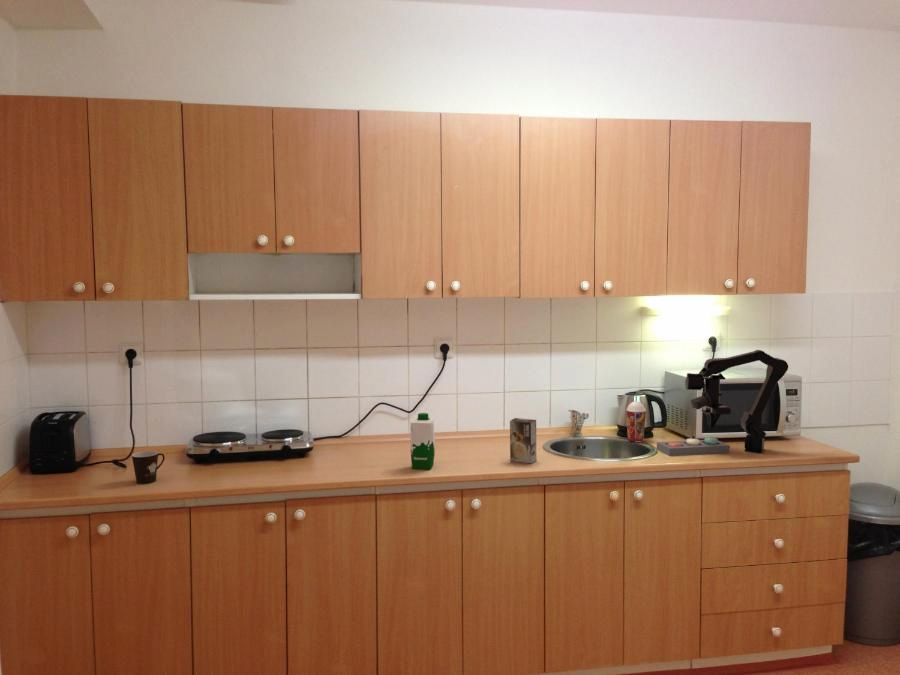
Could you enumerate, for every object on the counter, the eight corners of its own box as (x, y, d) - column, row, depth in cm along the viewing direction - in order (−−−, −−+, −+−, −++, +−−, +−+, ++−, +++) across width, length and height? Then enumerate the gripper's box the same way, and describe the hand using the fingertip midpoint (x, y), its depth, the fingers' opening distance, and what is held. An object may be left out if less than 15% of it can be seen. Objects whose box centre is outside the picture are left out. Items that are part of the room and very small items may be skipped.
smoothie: (646, 443, 301) (647, 397, 300) (626, 442, 303) (627, 396, 301) (644, 438, 310) (645, 393, 308) (624, 438, 311) (625, 393, 309)
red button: (683, 450, 284) (683, 444, 284) (671, 450, 283) (671, 445, 283) (677, 447, 289) (677, 442, 289) (665, 447, 288) (665, 442, 288)
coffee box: (537, 460, 276) (537, 419, 274) (531, 463, 270) (531, 422, 269) (515, 457, 280) (515, 417, 279) (509, 461, 274) (509, 420, 273)
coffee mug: (136, 486, 245) (134, 458, 244) (130, 480, 252) (129, 453, 251) (171, 480, 252) (169, 453, 251) (164, 475, 259) (163, 448, 258)
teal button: (719, 445, 287) (720, 440, 286) (708, 446, 286) (708, 440, 286) (713, 442, 292) (713, 437, 291) (702, 443, 291) (702, 437, 291)
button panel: (729, 452, 284) (729, 445, 284) (669, 455, 280) (669, 448, 280) (715, 446, 295) (715, 439, 295) (656, 449, 291) (656, 442, 291)
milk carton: (436, 464, 270) (435, 413, 269) (432, 470, 261) (431, 417, 260) (413, 463, 272) (412, 412, 270) (409, 470, 263) (408, 417, 261)
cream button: (701, 446, 285) (701, 441, 285) (690, 446, 285) (690, 441, 284) (695, 443, 290) (695, 438, 290) (684, 444, 290) (684, 438, 289)
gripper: (682, 387, 295) (682, 424, 296) (705, 394, 276) (705, 433, 278) (707, 386, 296) (706, 422, 298) (732, 393, 278) (731, 432, 279)
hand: (711, 427), depth 288 cm, fingers closed
